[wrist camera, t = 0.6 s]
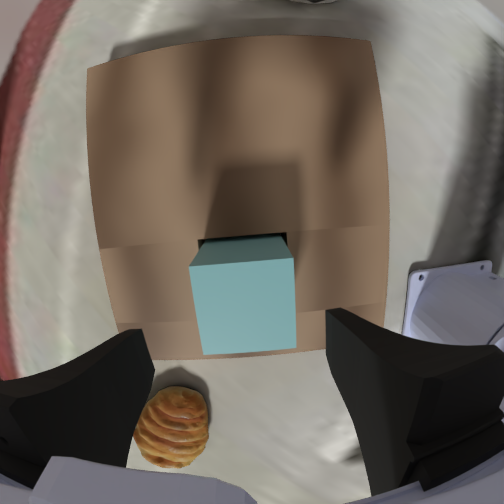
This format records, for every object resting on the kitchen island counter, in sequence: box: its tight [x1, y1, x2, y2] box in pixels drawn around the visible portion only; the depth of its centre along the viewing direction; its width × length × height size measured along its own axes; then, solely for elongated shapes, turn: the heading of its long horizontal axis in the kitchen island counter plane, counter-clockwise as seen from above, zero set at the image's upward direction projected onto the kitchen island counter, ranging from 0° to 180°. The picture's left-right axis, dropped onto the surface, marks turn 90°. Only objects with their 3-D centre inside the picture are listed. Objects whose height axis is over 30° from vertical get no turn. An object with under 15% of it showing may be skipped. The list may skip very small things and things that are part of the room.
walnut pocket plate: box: [86, 35, 389, 360], centre depth 18 cm, size 18×20×2 cm
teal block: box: [189, 233, 296, 355], centre depth 17 cm, size 4×4×7 cm
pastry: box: [133, 386, 209, 468], centre depth 22 cm, size 9×7×4 cm
